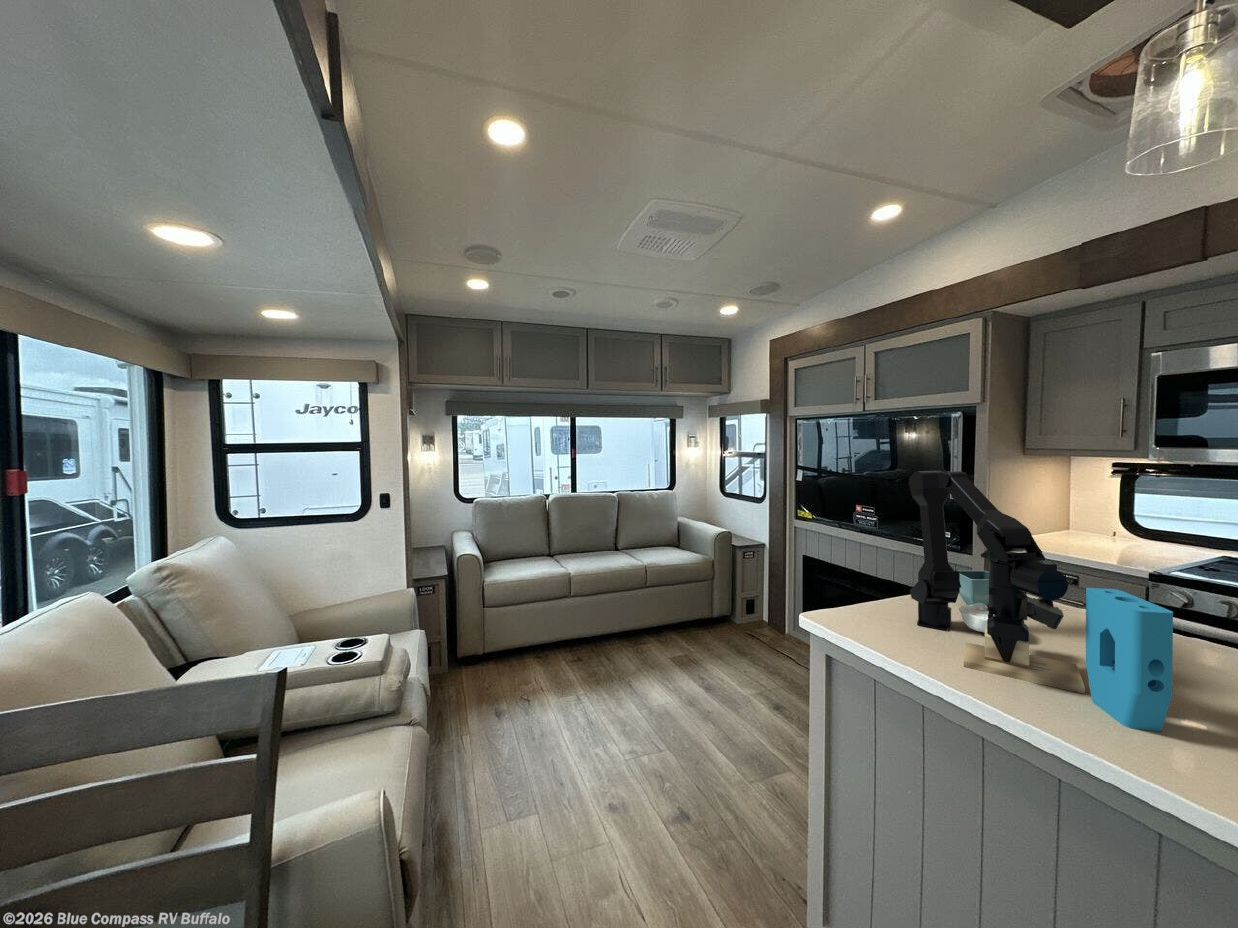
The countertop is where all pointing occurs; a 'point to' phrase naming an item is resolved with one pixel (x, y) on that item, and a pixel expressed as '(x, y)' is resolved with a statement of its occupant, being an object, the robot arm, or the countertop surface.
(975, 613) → the cell model
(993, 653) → the block
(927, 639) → the countertop surface
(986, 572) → the flower pot
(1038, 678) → the board
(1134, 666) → the block
